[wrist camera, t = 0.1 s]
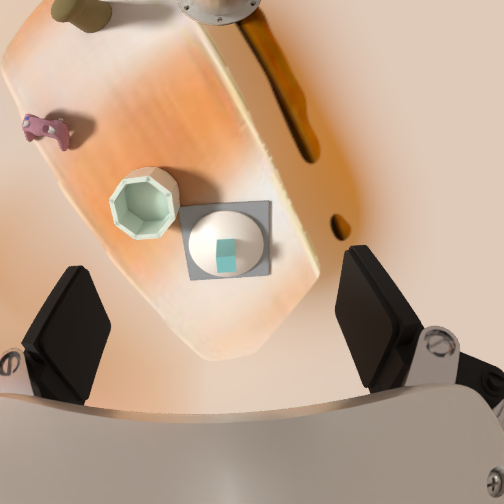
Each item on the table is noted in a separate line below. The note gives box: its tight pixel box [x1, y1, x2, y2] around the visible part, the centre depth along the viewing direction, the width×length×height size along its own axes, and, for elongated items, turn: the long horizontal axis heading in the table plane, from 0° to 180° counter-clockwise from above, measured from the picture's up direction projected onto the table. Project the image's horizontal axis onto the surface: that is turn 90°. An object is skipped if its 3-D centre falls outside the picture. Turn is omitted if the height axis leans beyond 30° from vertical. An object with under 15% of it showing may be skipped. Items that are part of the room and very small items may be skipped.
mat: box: [179, 201, 269, 280], centre depth 51 cm, size 15×15×1 cm
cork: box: [51, 0, 112, 33], centre depth 23 cm, size 6×6×11 cm
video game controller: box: [22, 114, 70, 151], centre depth 34 cm, size 10×5×7 cm, turn 66°
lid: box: [189, 210, 264, 277], centre depth 48 cm, size 13×13×6 cm
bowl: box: [109, 166, 180, 240], centre depth 43 cm, size 10×10×6 cm
